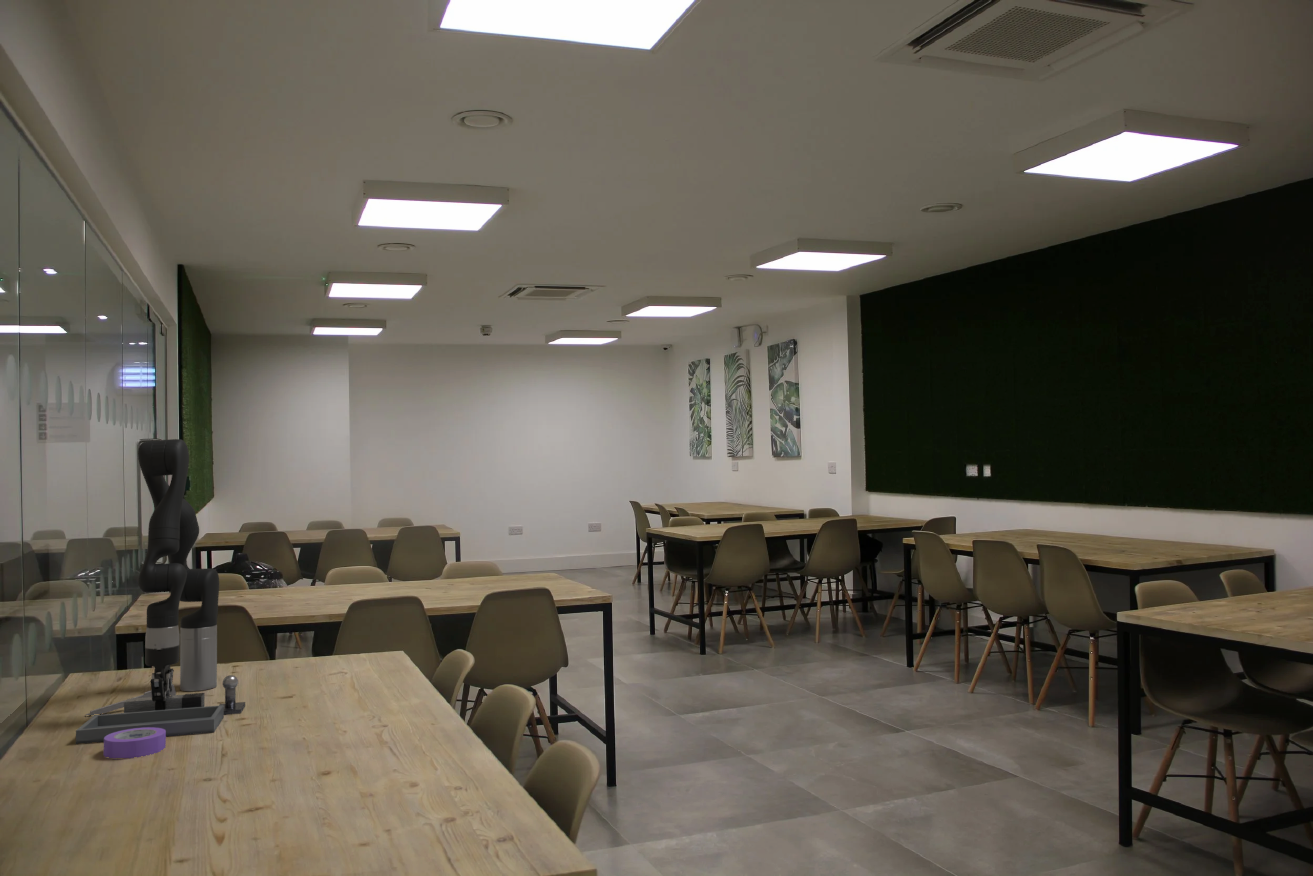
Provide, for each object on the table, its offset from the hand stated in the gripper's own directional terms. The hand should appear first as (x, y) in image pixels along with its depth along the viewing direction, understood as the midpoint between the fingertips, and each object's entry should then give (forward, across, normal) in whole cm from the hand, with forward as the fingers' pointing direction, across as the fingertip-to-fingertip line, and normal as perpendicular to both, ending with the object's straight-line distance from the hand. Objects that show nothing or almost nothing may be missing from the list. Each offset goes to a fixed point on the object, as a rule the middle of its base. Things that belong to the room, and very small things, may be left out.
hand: (162, 714), depth 230 cm
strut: (0, 0, 0) cm, 0 cm away
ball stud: (0, 0, +16) cm, 16 cm away
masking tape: (+1, +31, +1) cm, 31 cm away
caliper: (+1, -10, -9) cm, 13 cm away
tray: (0, +14, +1) cm, 14 cm away
